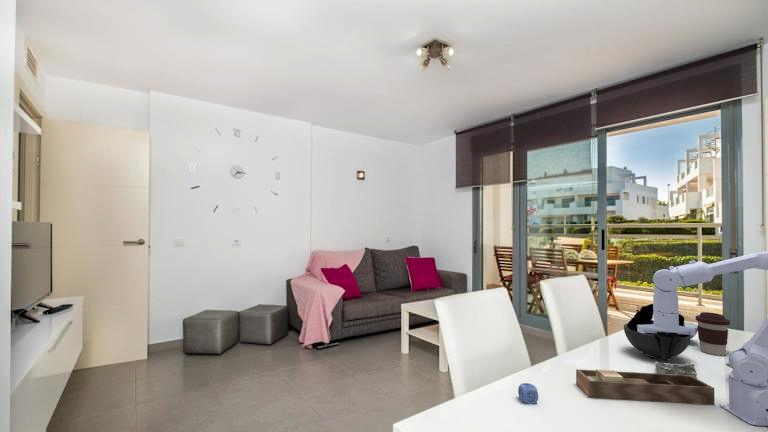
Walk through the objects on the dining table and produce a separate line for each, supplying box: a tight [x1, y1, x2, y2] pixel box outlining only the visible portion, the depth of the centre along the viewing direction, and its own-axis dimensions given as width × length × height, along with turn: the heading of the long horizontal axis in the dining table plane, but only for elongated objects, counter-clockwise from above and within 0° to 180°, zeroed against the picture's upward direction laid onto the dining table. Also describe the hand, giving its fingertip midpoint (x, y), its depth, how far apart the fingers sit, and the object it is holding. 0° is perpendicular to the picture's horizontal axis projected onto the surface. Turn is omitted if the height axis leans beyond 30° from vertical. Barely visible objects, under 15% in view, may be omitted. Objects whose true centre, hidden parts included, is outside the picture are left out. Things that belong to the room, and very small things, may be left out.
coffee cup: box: [695, 311, 731, 356], centre depth 139 cm, size 10×10×15 cm
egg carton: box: [654, 360, 698, 379], centre depth 117 cm, size 11×8×4 cm
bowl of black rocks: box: [623, 303, 692, 359], centre depth 134 cm, size 20×20×19 cm
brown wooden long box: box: [575, 368, 715, 406], centre depth 103 cm, size 32×9×4 cm, turn 85°
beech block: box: [595, 368, 623, 382], centre depth 104 cm, size 5×5×2 cm
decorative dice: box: [517, 382, 539, 405], centre depth 98 cm, size 4×4×4 cm
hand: (666, 358), depth 102 cm, fingers closed
